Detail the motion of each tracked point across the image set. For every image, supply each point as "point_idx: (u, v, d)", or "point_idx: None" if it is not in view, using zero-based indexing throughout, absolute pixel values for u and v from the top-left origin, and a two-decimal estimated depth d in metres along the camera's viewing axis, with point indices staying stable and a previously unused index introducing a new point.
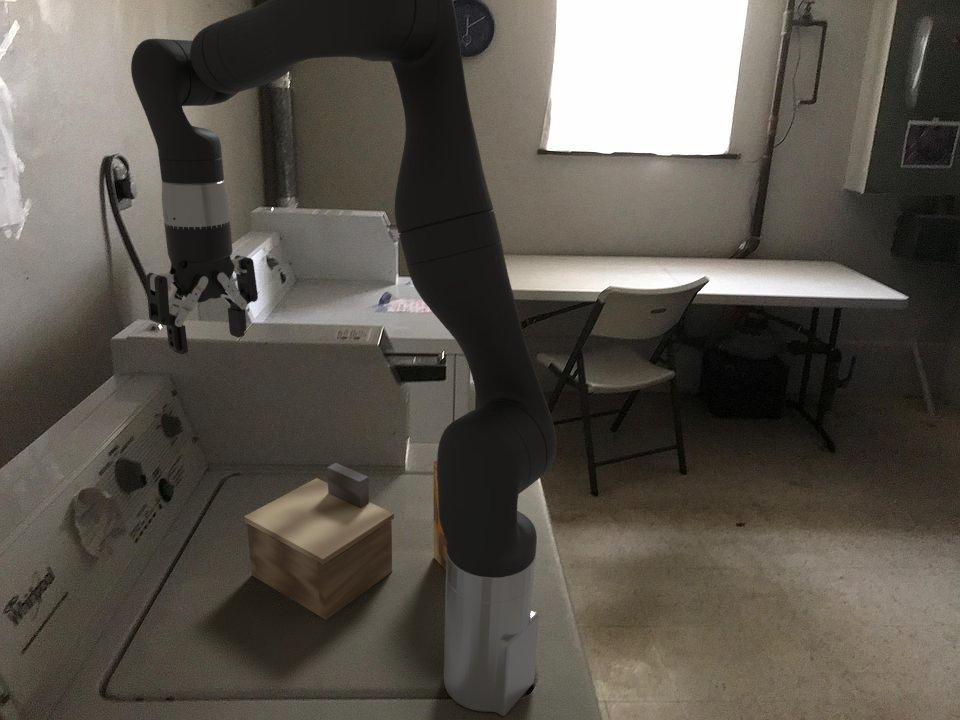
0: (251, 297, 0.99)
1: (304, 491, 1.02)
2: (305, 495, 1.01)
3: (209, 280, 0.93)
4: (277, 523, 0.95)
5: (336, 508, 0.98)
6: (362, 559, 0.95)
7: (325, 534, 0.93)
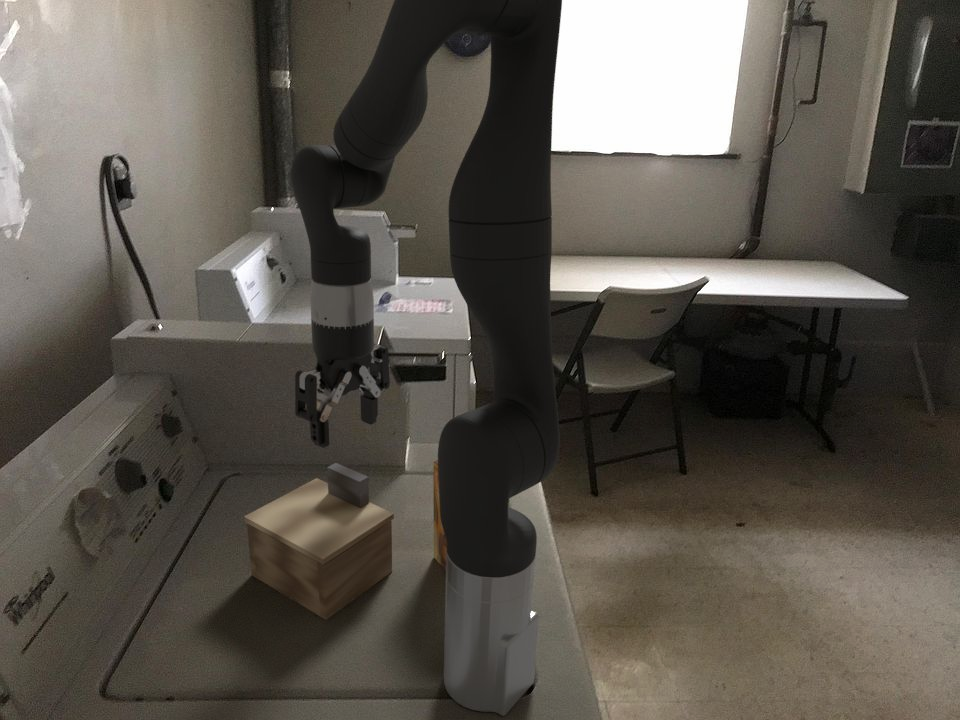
0: (384, 385, 0.99)
1: (304, 491, 1.02)
2: (305, 495, 1.01)
3: (351, 373, 0.94)
4: (277, 523, 0.95)
5: (336, 508, 0.98)
6: (362, 559, 0.95)
7: (325, 534, 0.93)
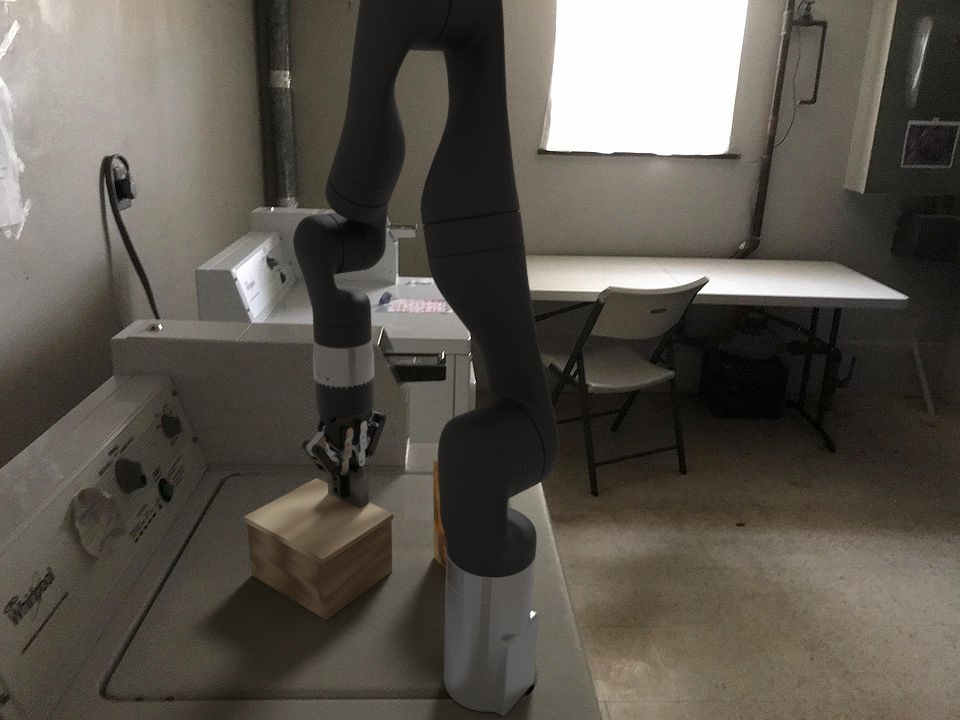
0: (369, 453, 1.00)
1: (304, 491, 1.02)
2: (305, 495, 1.01)
3: (352, 429, 0.96)
4: (277, 523, 0.95)
5: (336, 508, 0.98)
6: (362, 559, 0.95)
7: (325, 534, 0.93)
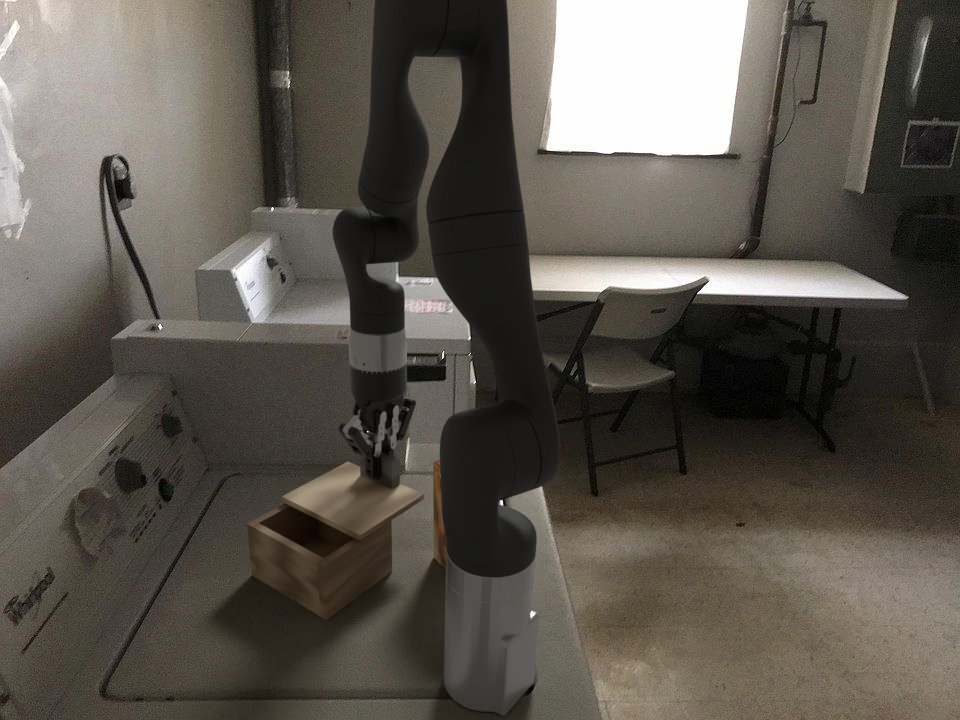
0: (400, 436, 1.05)
1: (337, 473, 1.07)
2: (338, 477, 1.06)
3: (385, 413, 1.01)
4: (314, 502, 0.99)
5: (369, 489, 1.03)
6: (362, 559, 0.95)
7: (360, 513, 0.98)
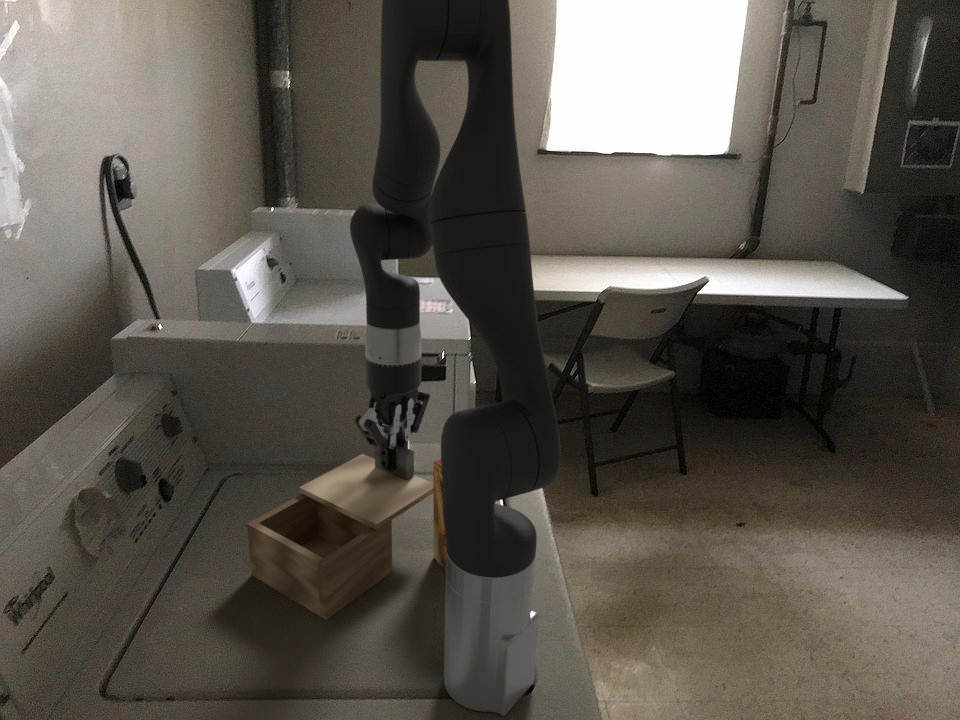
0: (414, 429, 1.07)
1: (352, 465, 1.09)
2: (354, 469, 1.08)
3: None
4: (330, 493, 1.02)
5: (384, 480, 1.05)
6: (362, 559, 0.95)
7: (376, 503, 1.00)
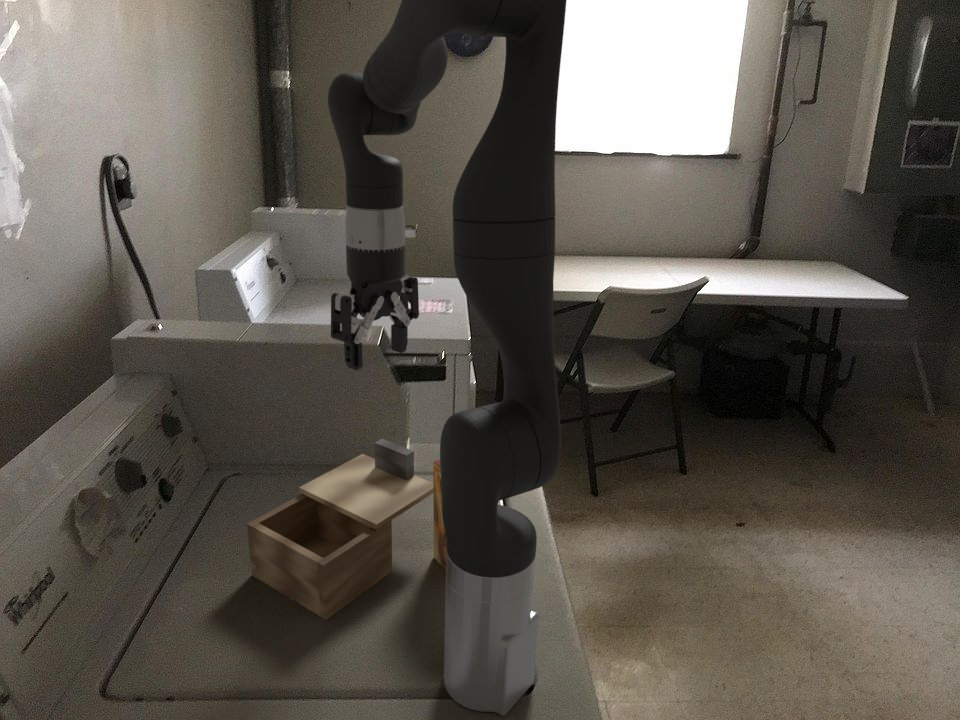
0: (414, 314, 1.04)
1: (352, 465, 1.09)
2: (354, 469, 1.08)
3: None
4: (330, 493, 1.02)
5: (384, 480, 1.05)
6: (362, 559, 0.95)
7: (376, 503, 1.00)
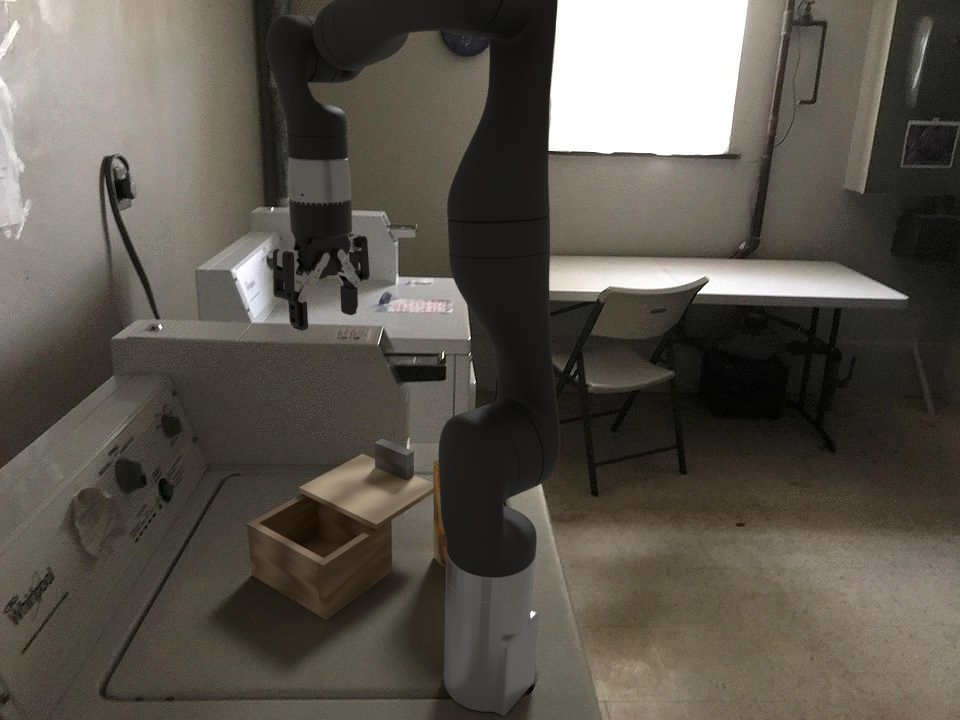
0: (364, 275, 1.00)
1: (352, 465, 1.09)
2: (354, 469, 1.08)
3: None
4: (330, 493, 1.02)
5: (384, 480, 1.05)
6: (362, 559, 0.95)
7: (376, 503, 1.00)
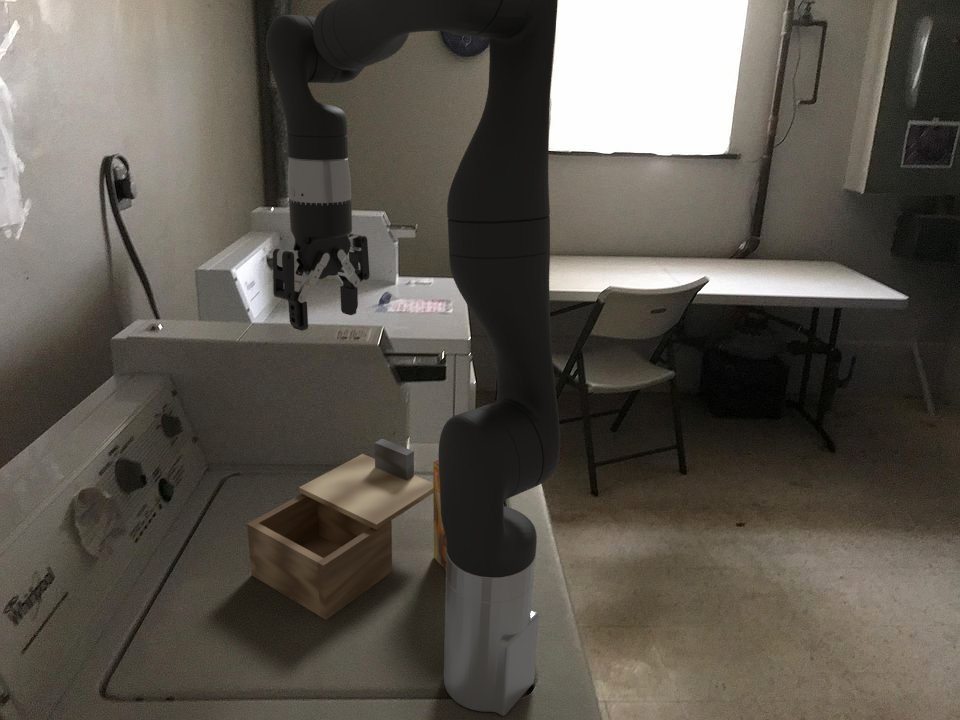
0: (364, 275, 1.00)
1: (352, 465, 1.09)
2: (354, 469, 1.08)
3: None
4: (330, 493, 1.02)
5: (384, 480, 1.05)
6: (362, 559, 0.95)
7: (376, 503, 1.00)
